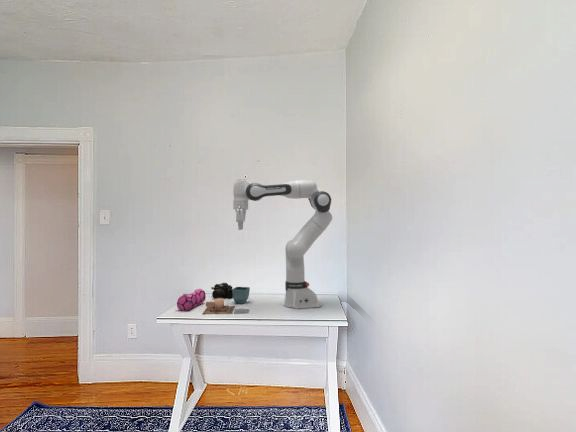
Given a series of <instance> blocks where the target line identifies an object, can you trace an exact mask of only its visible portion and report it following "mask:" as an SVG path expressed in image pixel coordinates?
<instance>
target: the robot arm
mask: <svg viewBox="0 0 576 432" xmlns="http://www.w3.org/2000/svg"><path fill="white" fill-rule="evenodd" d="M232 194H233V200H232V205H233V206H232V207H233V210H235V211H234V212H235V213H236V214H235V216H236V217H235V219H236V220H235V222H237V229H238V231H242V230H243V229H244V228H243V227H244V222H245V221H246V216H247V215H246V214H247V213H246V212H247V210H249V201H253V202H258V201H261V200H262V199H263V198H264V197H273V196H274V197H275V196H276V197H277V196H282V197H285V198H287V199H296V200H297V199H308V200H309V201H308V202H309V204H310V206H311V207H312V208H313V209H314V210H315V212H314V213H313V215H312V217H310V219H309V220H308V221H306V223H305V224H304V225H303V226H302V227H301V228H300V230H299V231H298V232H297V233H296V234H295V236H294V237H293V238H292V239H290V240H288V241H287V242H286V244H285V282H284V284H285V285H284V286H285V297H284V302H283V306H284V307H287V308H293V309H295V310H296V309H309V308H312V309H313V308H320V307H321V306H322V303H321V301H320V300H318V296H317V294H316V293H315V292H314V291H313V290H312V289H311V288H309V286H310V283H309V282H307V281H305V260H304V256H305V254H306V253H307V252H308V251H309V249H310V248H311V247H312V245H313V244H314V242H315V241H317V239H318V238H319V237H320V236H321V235H322V234H323V233H324V232H325V231H326V230H327V228H329V227H328V226H329V225H330V224H331V222H332V221H333V215H332V213H331V212H330V209H331V204H332V197H331V195H330V194H329V193H328V192H326V191H324V190H323V191H322V190H321V191H320V190H319V189H318V186H317V183H316V181H314V180H310V179H295V180H290V181H286V182H283V183H280V184H269V185H268V184H266V185H265V184H261V183H258V182H251V181H249V180H248V179H245V178H241V179H237V180H236V181H235V182H234V184H233V193H232Z"/></svg>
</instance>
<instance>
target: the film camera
mask: <svg viewBox="0 0 576 432" xmlns="http://www.w3.org/2000/svg"><path fill="white" fill-rule="evenodd" d="M213 286H214V287H213ZM213 286H211V290H213V291H212V293H211V296H212V298H213V299H216V298H224V300H225V299H227V300H232V299H233V293H232V289H233V286H232V285H230V284H228V283H227V282H222V283H215V285H213Z"/></svg>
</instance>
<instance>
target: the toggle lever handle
mask: <svg viewBox="0 0 576 432" xmlns="http://www.w3.org/2000/svg"><path fill="white" fill-rule="evenodd" d="M213 299H214V298H213ZM224 305H225V299H224V298H216V299H214V301H205V307H206V308H207V307H214V309H224Z"/></svg>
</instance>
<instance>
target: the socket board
mask: <svg viewBox="0 0 576 432" xmlns="http://www.w3.org/2000/svg"><path fill="white" fill-rule="evenodd" d="M235 307H236V306H235V305H228V304H227V305H225V304H224V309H214V307H206V308H205V309H204V311H203V312H202V315H232V314H234V311H235Z"/></svg>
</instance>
